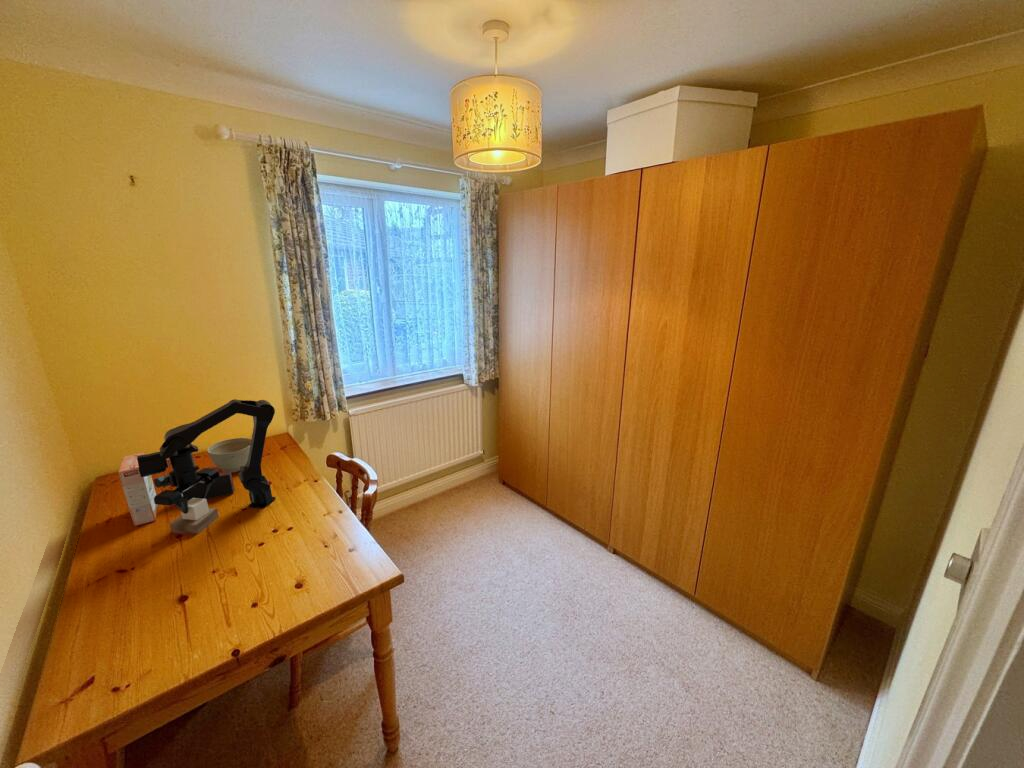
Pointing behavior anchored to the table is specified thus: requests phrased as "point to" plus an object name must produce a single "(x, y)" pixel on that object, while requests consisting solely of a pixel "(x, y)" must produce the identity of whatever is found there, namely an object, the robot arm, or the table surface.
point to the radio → (215, 487)
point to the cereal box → (138, 491)
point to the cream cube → (196, 509)
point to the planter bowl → (230, 454)
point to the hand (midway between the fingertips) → (194, 507)
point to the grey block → (194, 523)
